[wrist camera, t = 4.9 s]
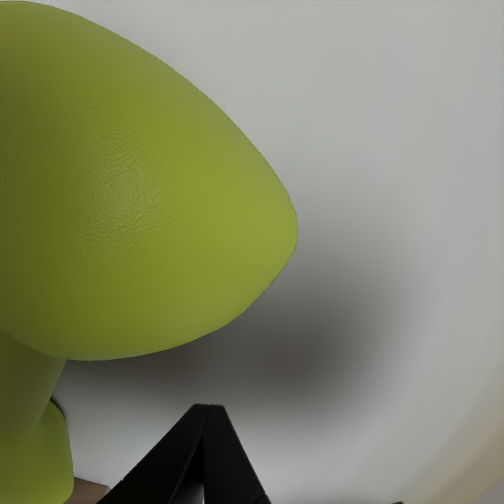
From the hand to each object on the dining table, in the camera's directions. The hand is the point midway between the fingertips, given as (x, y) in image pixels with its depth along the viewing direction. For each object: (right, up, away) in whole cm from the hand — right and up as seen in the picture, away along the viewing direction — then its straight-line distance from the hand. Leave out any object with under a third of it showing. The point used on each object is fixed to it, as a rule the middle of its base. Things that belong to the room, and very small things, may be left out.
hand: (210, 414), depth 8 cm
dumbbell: (-6, +2, +2) cm, 7 cm away
